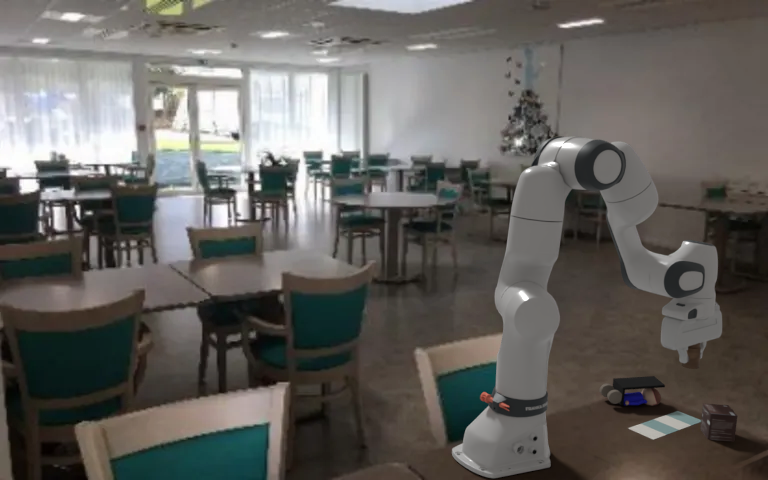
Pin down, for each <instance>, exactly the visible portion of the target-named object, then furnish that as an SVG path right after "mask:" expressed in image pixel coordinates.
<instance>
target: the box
mask: <svg viewBox="0 0 768 480" xmlns="http://www.w3.org/2000/svg"><path fill="white" fill-rule="evenodd" d="M701 410H702V411H701V417H700V420H701V422H700V429H699V430H700V431H701V432H702V434H703V435H704V436H705V438H706V439H707V440H712V441H721V442H723V441H724V442H735V439H736V432H737V431H736V430H737V423H738V422H737V421H738V415H737V413H736V412H735V410H733V408H731V406H729V405H727V404H718V403H717V404H713V403H702V408H701Z"/></svg>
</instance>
